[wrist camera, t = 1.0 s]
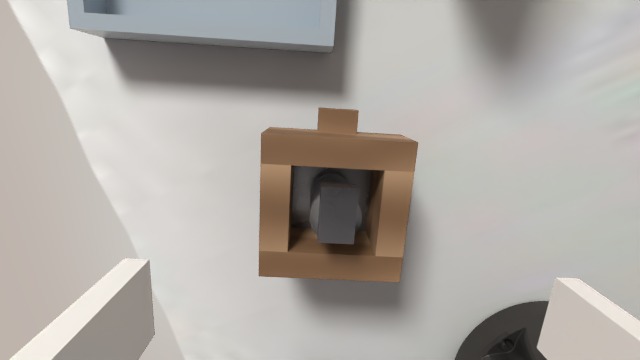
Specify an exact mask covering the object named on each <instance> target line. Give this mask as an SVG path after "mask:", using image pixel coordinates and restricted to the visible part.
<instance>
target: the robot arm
mask: <svg viewBox="0 0 640 360" xmlns="http://www.w3.org/2000/svg"><path fill="white" fill-rule="evenodd" d="M154 335H155V331H154V317H153V304H152V289H151V275H150V261H149V260H148V259H124V260H122V261H121V262H120V263H119V264H118V265H116V266H115V267H114V268H113V269H112V270H111V271H110V272H109V273H108V274H106V275H105V276H104V277H103V278H102V279H100V280H99V281H98V282H97V283H96V284H95V285H94V286H93V287H92V288H90V289H89V290H88V291H87V292H86V293H85V294H83V295H82V296H81V297H80V298H79V299H78V300H77V301H76V302H74V303H73V304H72V305H71V306H70V307H69V308H67V309H66V310H65V311H64V312H63V313H62V314H61V315H60V316H58V317H57V318H56V319H55V320H54V321H53V322H52V323H50V324H49V325H48V326H47V327H46V328H45V329H44V330H42V331H41V332H40V333H39V334H38V335H37V336H36V337H34V338H33V339H32V340H31V341H30V342H29V343H28V344H27V345H25V346H24V347H23V348H22V349H21V350H20V351H19V352H17V353H16V354H15V355H14V356H13V357H12V358H11V359H9V360H138V359H139V358H140V356H141V355H142V353H143V352H144V350H145V349H146V347H147V345H148V344H149V342H150V341H151V339H152V338H153V336H154ZM455 360H640V321H639V320H637V319H636V318H634V317H633V316H632V315H630V314H629V313H627V312H626V311H624V310H623V309H621V308H620V307H619V306H617V305H616V304H614V303H613V302H611V301H610V300H608V299H607V298H606V297H604V296H603V295H601V294H600V293H598V292H597V291H595V290H594V289H593V288H591V287H590V286H588V285H587V284H585V283H584V282H582V281H581V280H580V279H578V278H557V277H555V281H554V285H553V289H552V292H551V296H550V300H549V302H548V301H537V302H528V303H522V304H518V305H515V306H512V307H509V308H506V309H504V310H502V311H499V312H497V313H496V314H494V315H492V316H490V317H489V318H487V319H486V320H485V321H483V322H482V323H481V324H479V325H478V326H477V327H476V328H475V329H474V330H473V331H472V332H471V333H470V334H469V336H468V337H467V338H466V339H465V341H464V342H463V344H462V345H461V347H460V349H459V351H458V353H457V356H456V358H455Z"/></svg>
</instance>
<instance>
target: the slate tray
mask: <svg viewBox="0 0 640 360" xmlns="http://www.w3.org/2000/svg"><path fill="white" fill-rule="evenodd" d="M336 2H337V0H67V5H68V14H69V23H70V28H71V29H74V30H78V31H81V32H85V33H89V34H92V35H96V36H99V37H103V38H116V39H131V40H146V41H160V42H175V43H190V44H205V45H219V46H234V47H249V48H264V49H278V50H293V51H308V52H323V53H331V51H332V49H333V47H334V32H335V17H336Z"/></svg>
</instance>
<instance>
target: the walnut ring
mask: <svg viewBox="0 0 640 360" xmlns="http://www.w3.org/2000/svg"><path fill="white" fill-rule="evenodd" d="M358 112H359V111H358V110H350V109H333V108H319V113H318V130H310V129H294V128H277V127H269V128H268V129H267V130H265V131H264V132H263V133H261V175H260V231H259V276H264V277H288V278H311V279H335V280H358V281H382V282H400V276H401V268H402V261H403V253H404V246H405V238H406V231H407V223H408V216H409V208H410V201H411V193H412V186H413V178H414V171H415V163H416V156H417V148H418V142H416V141H413V140H411V139H409V138H407V137H404V136H402V135H395V134H378V133H361V132H357V123H358ZM294 166H311V167H329V168H347V169H366V170H372V171H371V181H370V191H369V201H368V211H367V220H366V230H365V231H357V233H356V234H355V236H354V244H335V243H318V237H317V235H316V234H315V232H314V231H313V229H312V228H291V225H292V202H293V178H294Z"/></svg>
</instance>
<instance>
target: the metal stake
mask: <svg viewBox="0 0 640 360" xmlns="http://www.w3.org/2000/svg"><path fill="white" fill-rule="evenodd" d="M371 171H372V170H366V169H347V168H329V167H311V166H294V178H293V202H292V225H291V228H312V229H313V231H314V232H315V234H316V235H317V237H318V243H335V244H354V236H355V234H356V233H357V231H365V230H366V220H367V211H368V201H369V191H370V181H371Z"/></svg>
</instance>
